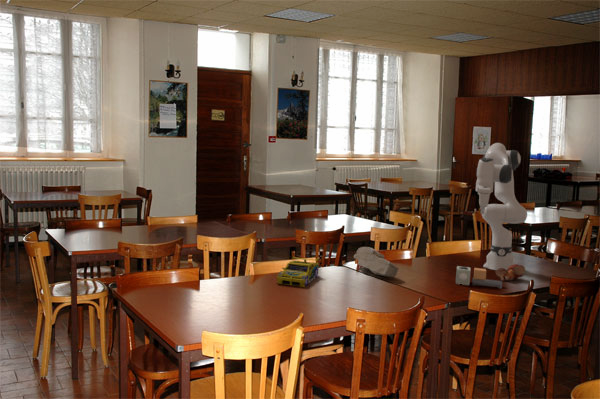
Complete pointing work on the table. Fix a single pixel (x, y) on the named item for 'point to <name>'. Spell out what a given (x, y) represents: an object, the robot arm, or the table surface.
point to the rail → (490, 283)
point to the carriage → (479, 276)
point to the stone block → (375, 262)
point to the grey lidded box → (463, 276)
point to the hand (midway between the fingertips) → (482, 213)
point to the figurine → (511, 272)
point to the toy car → (298, 272)
